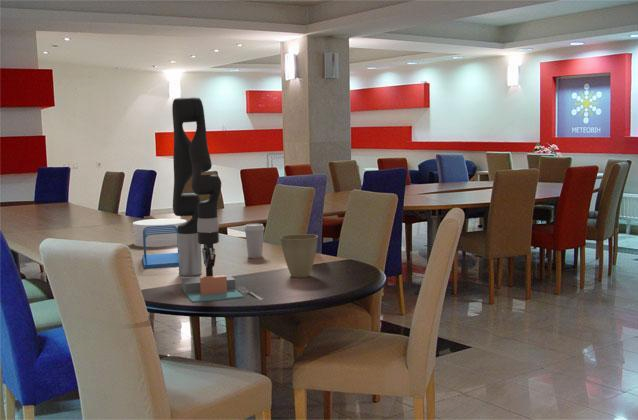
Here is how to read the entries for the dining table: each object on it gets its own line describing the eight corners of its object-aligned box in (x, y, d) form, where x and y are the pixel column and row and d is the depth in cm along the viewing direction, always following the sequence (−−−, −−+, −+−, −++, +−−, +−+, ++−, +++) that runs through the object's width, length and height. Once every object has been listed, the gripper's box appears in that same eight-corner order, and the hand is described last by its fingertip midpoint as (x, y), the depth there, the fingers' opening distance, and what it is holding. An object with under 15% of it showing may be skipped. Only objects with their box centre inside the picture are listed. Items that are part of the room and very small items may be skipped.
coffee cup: (252, 259, 317) (252, 226, 315) (240, 256, 324) (239, 224, 322) (269, 256, 323) (268, 224, 322) (257, 254, 330) (256, 222, 329)
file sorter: (142, 259, 323) (141, 226, 321) (180, 256, 328) (179, 224, 326) (144, 268, 299) (142, 233, 297) (185, 266, 304) (183, 231, 302)
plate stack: (170, 237, 390) (169, 217, 389) (197, 242, 370) (196, 221, 368) (124, 243, 371) (123, 222, 370) (150, 249, 351) (149, 226, 350)
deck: (181, 289, 258) (181, 278, 257) (229, 284, 264) (228, 274, 263) (186, 294, 248) (185, 283, 248) (235, 290, 254) (235, 279, 254)
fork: (264, 304, 234) (264, 299, 234) (235, 291, 255) (235, 286, 255) (273, 303, 236) (272, 298, 236) (243, 289, 257) (243, 285, 257)
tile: (200, 276, 246) (201, 278, 244) (224, 274, 250) (226, 276, 248) (200, 293, 247) (201, 295, 245) (225, 290, 251) (226, 292, 249)
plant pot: (315, 271, 287) (314, 233, 286) (321, 278, 273) (320, 238, 271) (279, 273, 285) (278, 234, 283) (283, 280, 270) (282, 240, 268)
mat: (186, 295, 248) (186, 293, 248) (235, 290, 254) (235, 289, 254) (192, 302, 237) (192, 301, 237) (243, 297, 243) (243, 296, 243)
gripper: (194, 228, 256) (195, 275, 258) (201, 233, 243) (202, 281, 245) (214, 227, 258) (215, 273, 260) (222, 231, 246) (223, 279, 248)
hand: (209, 277), depth 253 cm, fingers closed
